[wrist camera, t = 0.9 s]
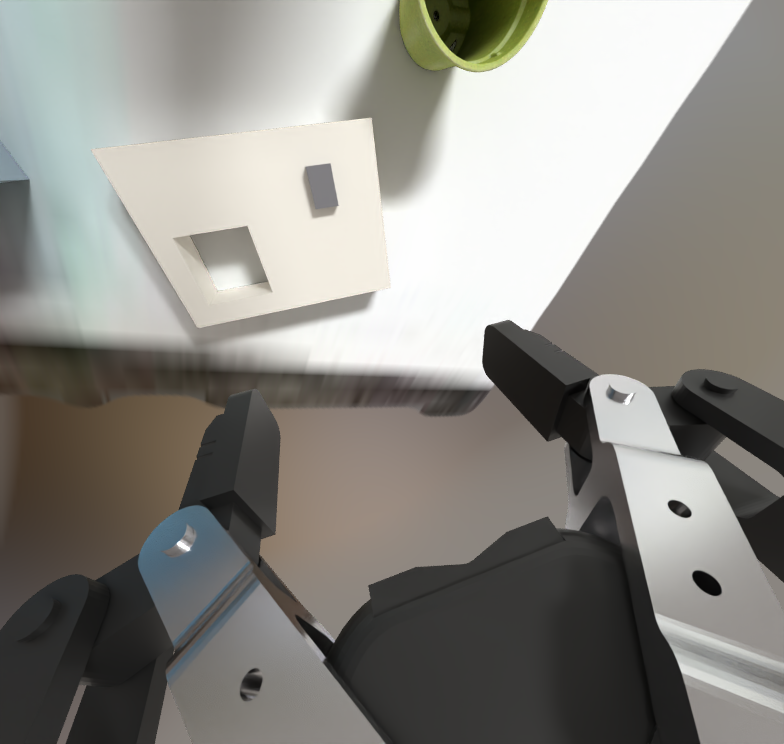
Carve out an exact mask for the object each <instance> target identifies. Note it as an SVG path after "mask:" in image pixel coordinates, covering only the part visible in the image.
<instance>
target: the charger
mask: <svg viewBox="0 0 784 744" xmlns="http://www.w3.org/2000/svg"><path fill="white" fill-rule="evenodd" d="M21 180H29V178H28V177H27V176H26V174H25V173H24V171H23V170H22V169H21V167H20V166H19V165H18V163H17V162H16V161H15V159H14V158H13V157H12V155H11V154H10V153H9V151H8V150H7V149H6V147H5V146H4V145H3V143H2V142H1V140H0V183H4V182H13V181H21Z"/></svg>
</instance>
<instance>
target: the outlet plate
mask: <svg viewBox="0 0 784 744" xmlns="http://www.w3.org/2000/svg"><path fill="white" fill-rule="evenodd" d="M91 151H92V153H93V154H94V156H95V158H96V159H97V161H98V163H99V164H100V166H101V168H102V169H103V171H104V173H105V174H106V176H107V178H108V179H109V181H110V183H111V184H112V186H113V188H114V189H115V191H116V193H117V194H118V196H119V198H120V199H121V201H122V203H123V204H124V206H125V208H126V209H127V211H128V213H129V214H130V216H131V218H132V219H133V221H134V223H135V224H136V226H137V228H138V229H139V231H140V233H141V234H142V236H143V238H144V239H145V241H146V243H147V244H148V246H149V248H150V249H151V251H152V253H153V254H154V256H155V258H156V259H157V261H158V263H159V264H160V266H161V268H162V269H163V271H164V273H165V274H166V276H167V278H168V279H169V281H170V283H171V284H172V286H173V288H174V289H175V291H176V293H177V294H178V296H179V298H180V299H181V301H182V303H183V304H184V306H185V308H186V309H187V311H188V313H189V314H190V316H191V318H192V319H193V321H194V323H195V324H196V326H197V328H202V327H207V326H212V325H216V324H221V323H226V322H231V321H235V320H240V319H245V318H250V317H254V316H259V315H264V314H269V313H273V312H278V311H283V310H288V309H292V308H297V307H302V306H307V305H311V304H316V303H321V302H326V301H330V300H335V299H340V298H345V297H349V296H354V295H359V294H364V293H368V292H373V291H378V290H383V289H387V288H391V286H390V277H389V268H388V259H387V250H386V241H385V232H384V223H383V214H382V205H381V196H380V188H379V179H378V170H377V161H376V152H375V143H374V134H373V125H372V118H364V119H355V120H347V121H338V122H329V123H320V124H311V125H302V126H293V127H284V128H276V129H267V130H258V131H249V132H240V133H231V134H222V135H213V136H205V137H196V138H187V139H178V140H169V141H160V142H151V143H142V144H134V145H125V146H116V147H107V148H98V149H91ZM244 226H248V229H249V231H250V234H251V237H252V239H253V242H254V245H255V247H256V250H257V252H258V255H259V258H260V260H261V263H262V266H263V268H264V271H265V273H266V276H267V279H268V282H262V283H257V284H252V285H247V286H242V287H237V288H231V289H226V290H221V291H218V290H217V288H216V286H215V284H214V282H213V280H212V278H211V277H210V275H209V273H208V271H207V269H206V267H205V265H204V263H203V261H202V259H201V257H200V255H199V253H198V251H197V249H196V247H195V245H194V243H193V241H192V239H191V237H190V235H195V234H201V233H207V232H213V231H219V230H226V229H232V228H238V227H244Z"/></svg>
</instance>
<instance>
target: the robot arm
mask: <svg viewBox="0 0 784 744" xmlns="http://www.w3.org/2000/svg"><path fill="white" fill-rule="evenodd" d="M482 363H483V368H484V371H485V373H486V375H487V376H488V377H489V379H490V380H491V381H492V382H493V383H494V384H495V385H496V386H497V387H498V388H499V389H500V390H501V392H502V393H503V394H504V395H505V396H506V397H507V398H508V399H509V400H510V401H511V402H512V404H513V405H514V406H515V407H516V408H517V409H518V410H519V411H520V412H521V413H522V414H523V416H524V417H525V418H526V419H527V420H528V421H529V422H530V423H531V424H532V425H533V426H534V428H535V429H536V430H537V431H538V432H539V433H540V434H541V435H542V436H543V437H544V438H545V440H546V441H551V440H554V439H557V438H560V437H562V438H563V439H564V440H565V441H566V444H565V448H564V451H565V463H566V475H567V487H568V500H569V504H568V512H567V518H566V527H565V529H556V528H555V526H554V525H553V524H552V522H551V521H550V519H549V518H548V517H545V518H542V519H540V520H537V521H535V522H532V523H529V524H527V525H524V526H521V527H519V528H516V529H514V530H511V531H509V532H506V533H505V534H504V535H503V536H501V537H500V538H499V539H498V540H497V541H495V542H494V543H493V544H492V545H491V546H490V547H488V548H487V549H486V550H485V551H483V552H482V553H481V554H480V555H479V556H477V557H476V558H475V559H474V560H473V561H471V562H470V563H467V564H461V565H444V566H430V567H415V568H413V569H410V570H407V571H405V572H402V573H399V574H397V575H394V576H392V577H389V578H387V579H384V580H381V581H379V582H376V583H374V584H371V585H369V592H370V597H371V599H370V600H369V601H368V602H367V603H365V604H364V605H363V606H362V607H361V608H360V609H359V610H358V611H357V612H356V613H355V614H354V615H353V616H352V617H351V619H350V620H349V621H348V623H347V624H346V625H345V626H344V628H343V629H342V631H341V632H340V634H339V636H338V637H337V639H336V640H334V639H333V638H332V636H331V635H330V634H329V633H328V632H327V631H326V629H325V628H324V627H323V626H322V625H321V624H320V623H319V622H318V621H317V619H316V618H315V617H313V615H312V614H311V613H310V612H308V610H307V609H306V608H305V607H304V606H303V605H302V604H301V603H300V601H299V600H298V599H297V598H296V597H295V596H294V594H293V593H292V592H291V591H290V590H289V588H288V587H287V586H286V585H285V584H284V582H283V581H282V580H281V579H280V578H279V577H278V575H277V574H276V573H275V572H274V571H273V570H272V568H271V567H270V566H269V565H268V564H267V562H266V561H265V560H264V559H263V558H262V556H261V555H259V552H260V541H261V539H263V538H266V537H269V536H272V535H275V531H276V512H277V493H278V473H279V454H280V431H279V427H278V424H277V422H276V420H275V418H274V416H273V414H272V413H271V411H270V409H269V408H268V406H267V404H266V402H265V401H264V399H263V397H262V396H261V394H260V392H259V391H258V390H257V389H252V390H248V391H245V392H241V393H237V394H234V395H230V396H229V398H228V401H227V405H226V408H225V412H224V414H221V415H218V416H216V418H215V419H214V420H213V421H212V423H211V424H210V425H209V426H208V428H207V429H206V430H205V434H204V436H203V439H202V442H201V447H200V448H199V451H198V454H197V460H195V463H194V466H193V469H192V472H191V475H190V478H189V481H188V484H187V487H186V490H185V493H184V496H183V499H182V501H181V504H180V507H179V510H178V511H177V512H175V513H173V514H172V515H170V516H169V517H167V518H166V519H165V520H164V521H163V522H161V523H160V524H159V525H158V526H157V527H156V528H155V529H154V530H153V532H152V533H151V534H150V535H149V537H148V539H147V540H146V542H145V543H144V545H143V547H142V549H141V552H140V554H138V555H136V556H135V557H133V558H132V559H130V560H128V561H127V562H125V563H123V564H122V565H120V566H118V567H117V568H115V569H113V570H112V571H110V572H109V573H107V574H105V575H104V576H102V577H100V578H99V579H97V580H92V579H90V578H87V577H85V576H83V575H78V574H75V575H69V576H66V577H63V578H60V579H58V580H56V581H54V582H52V583H51V584H49V585H47V586H46V587H44V588H43V589H41V590H40V591H39V592H37V593H36V594H35V595H33V596H32V597H31V598H30V599H29V600H28V601H26V602H25V603H24V604H23V605H22V606H21V607H20V608H19V609H18V610H17V611H16V612H15V613H14V614H13V615H12V617H11V618H10V619H9V620H8V621H7V622H6V624H5V625H4V626H3V628H2V629H1V630H0V744H57V741H58V738H59V736H60V733H61V730H62V728H63V725H64V722H65V720H66V717H67V714H68V712H69V709H70V706H71V704H72V701H73V698H74V696H75V693H76V690H77V687H78V685H87V686H86V689H85V691H84V694H83V697H82V700H81V703H80V705H79V708H78V711H77V714H76V716H75V719H74V722H73V725H72V728H71V730H70V733H69V736H68V739H67V742H66V744H155V739H156V734H157V729H158V724H159V719H160V715H161V710H162V705H163V700H164V695H165V690H166V686H167V682H168V685H169V688H170V690H171V693H172V695H173V698H174V700H175V702H176V705H177V707H178V710H179V712H180V715H181V717H182V720H183V722H184V724H185V727H186V730H187V732H188V734H189V737H190V739H191V742H192V744H784V611H783V610H782V607H781V606H780V604H779V602H778V600H777V598H776V596H775V594H774V592H773V590H772V588H771V586H770V584H769V582H768V580H767V578H766V576H765V574H764V572H763V570H762V568H761V566H760V564H759V562H758V560H759V561H760V562H762V563H763V564H764V565H765V566H766V567H767V568H768V569H769V570H770V571H772V572H773V573H774V574H775V575H776V576H777V577H778V578H779V579H780V580H781V581H783V582H784V496H782V497H781V498H780V497H778V496H776V495H775V494H773V493H772V492H770V491H769V490H768V489H766V488H765V487H763V486H762V485H761V484H759V483H758V482H756V481H755V480H754V479H752V478H751V477H750V476H748V475H747V474H745V473H744V472H743V471H741V470H740V469H738V468H737V467H736V466H734V465H733V464H732V463H730V462H729V461H728V460H726V459H725V458H723V457H722V456H721V455H719V454H718V453H716V452H715V451H714V449H715V448H716V447H717V446H718V445H719V444H720V443H721V442H722V441H723V440H724V439H725V438H726V437H728V438H729V439H731V440H732V441H734V442H735V443H736V444H738V445H739V446H741V447H742V448H744V449H745V450H747V451H748V452H750V453H752V454H753V455H754V456H756V457H758V458H759V459H760V460H762V461H763V462H765V463H767V464H768V465H769V466H771V467H772V468H774V469H775V470H777V471H778V472H779V473H780V474H781V475H782V476H783V477H784V401H783V400H781V399H779V398H777V397H775V396H773V395H771V394H769V393H767V392H765V391H763V390H761V389H759V388H757V387H755V386H754V385H752V384H750V383H748V382H746V381H744V380H742V379H740V378H737V377H735V376H732V375H729V374H726V373H723V372H718V371H712V370H704V369H703V370H702V369H697V370H690V371H687V372H685V373H684V374H683V375H682V377H681V378H680V380H679V381H678V383H677V384H676V386H666V387H647V386H646V385H644V384H643V383H641V382H639V381H637V380H635V379H632V378H629V377H626V376H622V375H615V374H605V375H598V374H597V373H595V372H594V371H592V370H591V369H589V368H588V367H586V366H585V365H584V364H582V363H581V362H579V361H578V360H576V359H575V358H573V357H572V356H571V355H569V354H568V353H566V352H565V351H562V350H561V349H560V348H559V347H557V346H556V345H552V342H550V341H549V340H547V339H546V338H544V337H543V336H541V335H539V334H536V333H534V332H531V331H528V330H523V329H522V328H520V327H519V326H518V325H516V324H515V323H513V322H512V321H510V320H506V321H502V322H499V323H495V324H491V325H488V326H487V327H486V329H485V334H484V346H483V359H482ZM757 559H758V560H757ZM174 650H175V653H174V655H173V652H174Z"/></svg>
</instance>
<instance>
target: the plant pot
mask: <svg viewBox="0 0 784 744" xmlns="http://www.w3.org/2000/svg"><path fill="white" fill-rule="evenodd" d="M547 2H548V0H400V5H399V17H400V31H401V35H402V39H403V42H404V45H405V47H406V49H407V51H408V53H409V55H410V56H411V58H412V59H413V60H414V61H415V62H416V63H417V64H418V65H419V66H420V67H422V68H424V69H428V70H432V71H437V70H442V69H446V68H449V67H454V66H457V67H459V68H461V69H463V70H466V71H471V72H485V71H489V70H493V69H495V68H497V67H499V66H501V65H503V64H504V63H506V62H507V61H509V60H510V59H511V58H512V57H513V56H514V55H516V54H517V53H518V52H519V51H520V49H521V48H522V47H523V46H524V45H525V43H526V42H527V40H528V39H529V38H530V36H531V35H532V33H533V32H534V30H535V28H536V26H537V25H538V23H539V21H540V19H541V17H542V14H543V12H544V10H545V7H546V5H547ZM435 11H438V13H439V19H438V20H437V21H436V20H435V19H434V16H433V14H434V12H435ZM455 40H457V41H456V46H455V48H454V50H453V52H451V51H450V50H449V48H450V47H451V46H452V44H453V43H454V41H455Z"/></svg>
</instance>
